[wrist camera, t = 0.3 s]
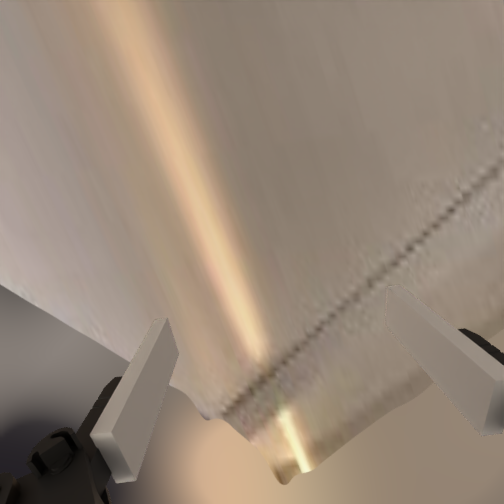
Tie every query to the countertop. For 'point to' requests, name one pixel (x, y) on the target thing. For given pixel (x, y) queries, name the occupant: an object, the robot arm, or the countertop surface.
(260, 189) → the countertop surface
